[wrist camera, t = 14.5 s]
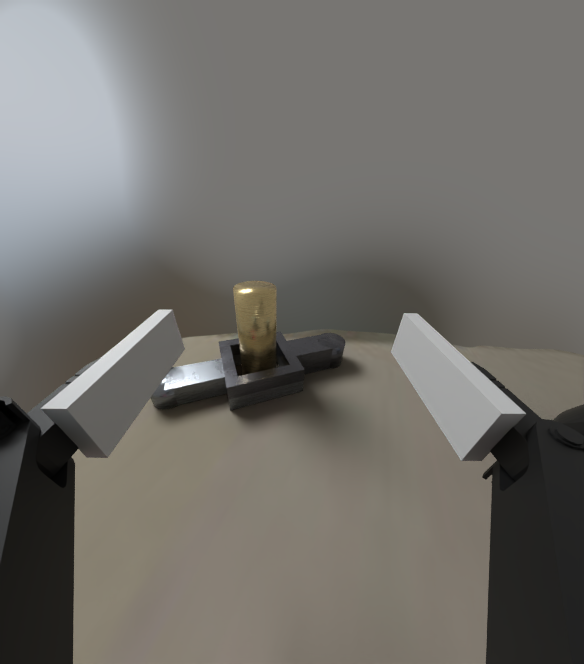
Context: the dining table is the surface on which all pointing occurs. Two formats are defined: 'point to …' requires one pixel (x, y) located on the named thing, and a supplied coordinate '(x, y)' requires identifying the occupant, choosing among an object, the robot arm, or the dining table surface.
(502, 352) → the dining table surface
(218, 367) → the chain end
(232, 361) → the chain end
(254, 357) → the gold tall cylinder
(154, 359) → the robot arm
